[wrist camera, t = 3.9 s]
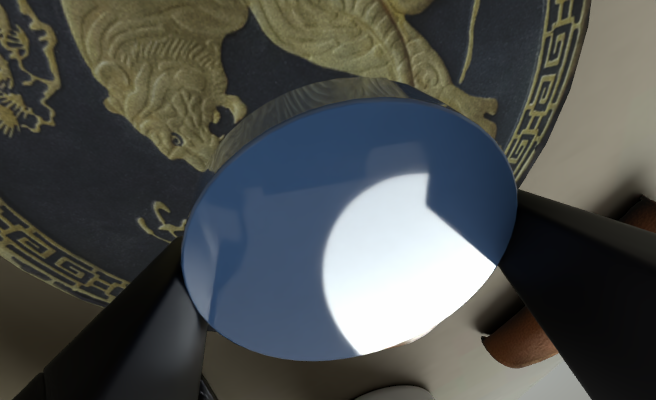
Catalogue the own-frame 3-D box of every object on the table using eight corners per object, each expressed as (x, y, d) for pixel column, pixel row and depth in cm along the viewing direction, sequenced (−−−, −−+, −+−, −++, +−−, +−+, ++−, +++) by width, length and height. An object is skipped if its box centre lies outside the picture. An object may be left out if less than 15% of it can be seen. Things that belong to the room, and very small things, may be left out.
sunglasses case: (530, 348, 34) (552, 404, 28) (473, 311, 35) (483, 358, 29) (687, 223, 27) (763, 262, 21) (612, 178, 27) (665, 204, 21)
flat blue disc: (441, 267, 11) (482, 328, 9) (237, 309, 10) (232, 386, 8) (482, 46, 7) (569, 70, 5) (151, 88, 6) (105, 135, 4)
